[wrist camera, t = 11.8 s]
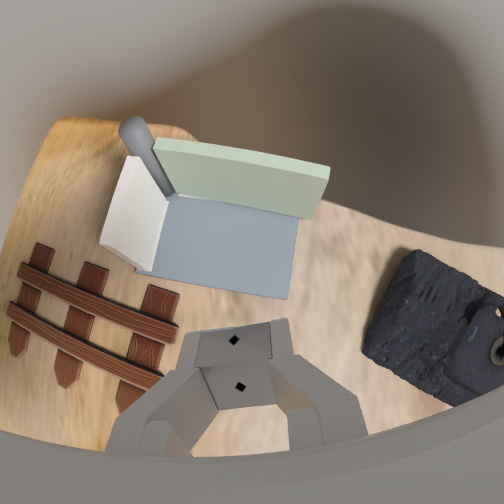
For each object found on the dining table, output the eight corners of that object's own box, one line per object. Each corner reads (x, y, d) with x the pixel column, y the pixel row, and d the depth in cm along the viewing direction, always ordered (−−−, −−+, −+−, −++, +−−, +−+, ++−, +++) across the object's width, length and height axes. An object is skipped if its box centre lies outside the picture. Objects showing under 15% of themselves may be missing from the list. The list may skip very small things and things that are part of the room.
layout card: (286, 299, 32) (287, 299, 31) (136, 273, 33) (135, 272, 32) (300, 199, 34) (301, 197, 34) (161, 180, 35) (160, 179, 35)
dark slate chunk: (407, 232, 34) (425, 217, 29) (522, 316, 30) (545, 312, 26) (348, 353, 30) (363, 355, 26) (481, 423, 27) (504, 429, 22)
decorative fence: (35, 242, 35) (6, 347, 31) (28, 238, 33) (-3, 346, 29) (191, 298, 33) (153, 428, 29) (187, 296, 31) (148, 432, 27)
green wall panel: (176, 193, 34) (152, 148, 25) (179, 183, 34) (157, 137, 26) (311, 220, 33) (328, 179, 24) (313, 210, 33) (330, 167, 24)
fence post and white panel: (156, 273, 33) (106, 238, 21) (135, 269, 33) (80, 234, 21) (179, 181, 35) (148, 116, 24) (160, 179, 35) (124, 116, 24)
